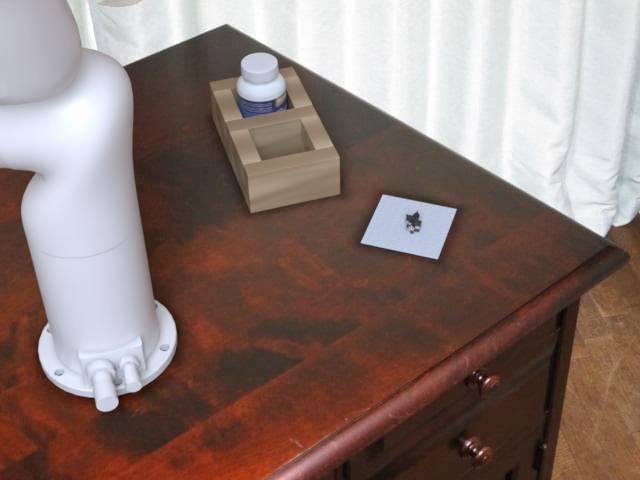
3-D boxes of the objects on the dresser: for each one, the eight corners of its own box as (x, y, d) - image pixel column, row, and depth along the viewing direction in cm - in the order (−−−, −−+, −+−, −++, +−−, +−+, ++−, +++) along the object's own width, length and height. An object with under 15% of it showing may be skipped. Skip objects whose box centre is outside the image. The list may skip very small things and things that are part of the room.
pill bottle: (287, 149, 127) (283, 76, 121) (239, 150, 128) (232, 76, 121) (289, 120, 131) (285, 47, 125) (242, 121, 132) (236, 48, 125)
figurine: (398, 217, 119) (399, 203, 117) (425, 222, 118) (426, 208, 117) (392, 231, 117) (392, 217, 116) (419, 237, 116) (419, 223, 115)
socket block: (340, 194, 122) (339, 157, 118) (250, 213, 120) (247, 176, 116) (294, 102, 134) (292, 66, 131) (212, 118, 132) (208, 82, 129)
